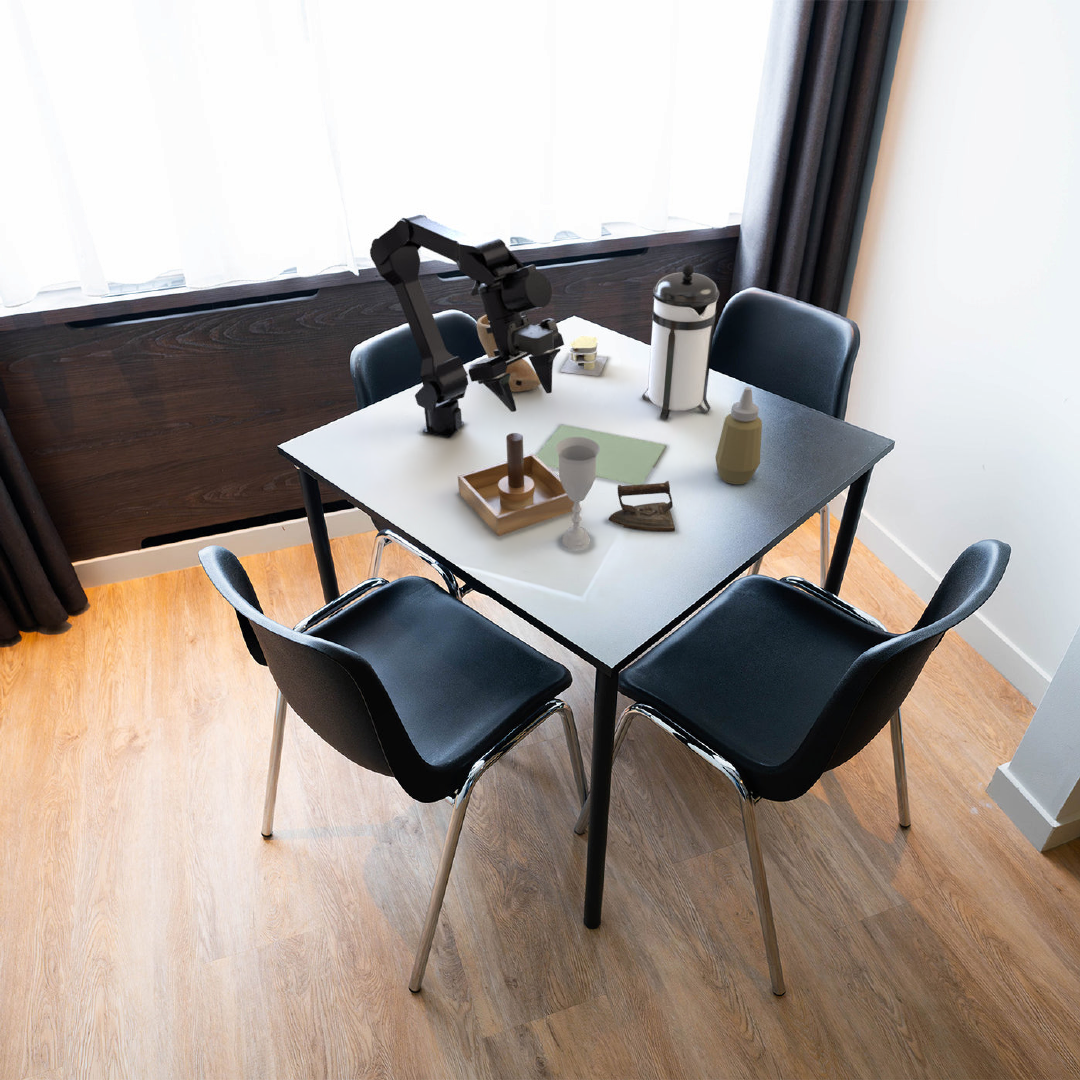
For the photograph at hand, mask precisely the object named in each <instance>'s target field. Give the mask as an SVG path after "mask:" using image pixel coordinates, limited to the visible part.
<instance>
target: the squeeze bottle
mask: <svg viewBox="0 0 1080 1080" xmlns="http://www.w3.org/2000/svg"><path fill="white" fill-rule="evenodd" d="M759 408H760V407H759V406H757V404H755V403H754V400H753V389H752V387H750V386H745V387H744V389H743V391H742V394H741V397H740V399H739V401H737V402H735V403H733V404H732V406H731V409H730V410H731V411H730V413H728V414H727V415H726V416H725V417H724V420H723V425H722V427H721V433H720V435H719V436H720V437H719V441H718V445H717V448H716V453H715V455H714V456H715V458H714V459H715V464H716V468H717V472H718V475H719V478H720V479H721V480H722V481H723V482H725V483H727V484H730V485H744V484H747V483H749V482H750V481H751V480H752V478H753V476H754V475H755V473H756V471H757V469H758V468H759V466H760V464H761V451H762V450H761V449H762V433H763V422H762V419H761V418H760V417H759V410H760V409H759Z"/></svg>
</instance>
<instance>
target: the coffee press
mask: <svg viewBox="0 0 1080 1080" xmlns="http://www.w3.org/2000/svg"><path fill="white" fill-rule="evenodd" d="M652 297H653V300H654V301H653V306H652V312H651V319H652V326H651V337H650V340H651V341H650V355H649V368H648V379H647V380H648V382H647V389H646V391H645V392H644V393H643V394H642V395H641V398H642V400H643V401H649V400H650V401H651V402H652V403H653V405H655V406H657V407H659V408H661V412H660V415H659V419H660V420H664V421H667V420H669V416H670V413H671V412H672V411H687V410H692V409H695V408H698V410H700V412H701V413H702V414H704V415H705V414H708V413H709V412H710V410H711V406H710V403H709V402H708V400H707V394H708V393H707V392H708V385H709V376H710V367H711V357H712V348H713V342H714V341H713V340H714V332H715V322H716V320H717V319H716V318H717V302H718V300H719V298H720V290H719V289H718V287H717V283H715V281H714V280H713V279H712V278H710V277H708V276H706V275H704V274H700V273H695V268H694V266H693V265H692V264H690V263H689V264H685V265H684V266H683V267H682V268H681V272H674V273H670V274H667V275H665V276H663V277H662V278H660V279H659V280H658V282H657V283H656V285H655V286H654V287H653V288H652ZM646 393H647V395H648V396H647V395H646ZM701 404H704V406H705V407H706V409H705V408H704V406H703V405H701Z"/></svg>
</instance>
